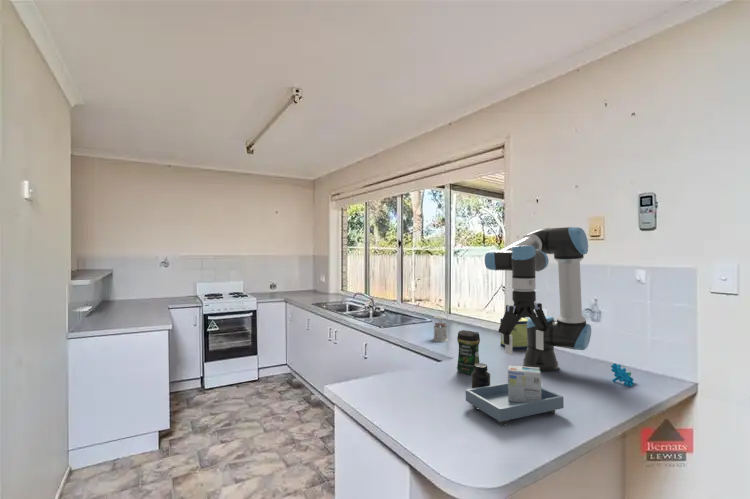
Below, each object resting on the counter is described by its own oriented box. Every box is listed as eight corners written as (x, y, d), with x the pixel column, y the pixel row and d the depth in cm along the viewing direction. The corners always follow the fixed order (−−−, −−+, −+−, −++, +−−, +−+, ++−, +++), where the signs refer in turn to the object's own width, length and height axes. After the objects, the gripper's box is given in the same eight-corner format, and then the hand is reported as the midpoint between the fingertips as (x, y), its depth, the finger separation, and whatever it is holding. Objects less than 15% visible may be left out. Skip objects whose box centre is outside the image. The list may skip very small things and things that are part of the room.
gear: (625, 385, 151) (609, 362, 158) (614, 392, 155) (598, 370, 162) (641, 384, 156) (624, 362, 163) (630, 391, 160) (613, 369, 167)
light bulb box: (540, 397, 135) (540, 367, 135) (541, 405, 129) (541, 372, 129) (508, 394, 139) (507, 364, 139) (507, 401, 132) (507, 369, 132)
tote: (465, 407, 135) (465, 389, 135) (524, 396, 145) (523, 379, 145) (500, 429, 119) (500, 409, 119) (563, 415, 128) (563, 396, 128)
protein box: (535, 348, 215) (535, 320, 215) (510, 350, 212) (509, 321, 212) (524, 343, 225) (524, 317, 225) (499, 345, 222) (499, 318, 222)
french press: (432, 341, 233) (431, 299, 233) (432, 336, 244) (432, 297, 244) (448, 341, 231) (448, 300, 231) (448, 337, 243) (448, 297, 243)
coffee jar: (454, 372, 174) (454, 331, 174) (462, 368, 180) (462, 328, 180) (474, 376, 168) (474, 333, 168) (482, 372, 174) (482, 330, 174)
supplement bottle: (469, 393, 148) (468, 362, 148) (486, 393, 149) (486, 361, 149) (475, 400, 141) (474, 367, 141) (493, 399, 142) (493, 367, 142)
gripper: (502, 293, 126) (502, 358, 126) (559, 289, 135) (560, 350, 135) (487, 291, 133) (488, 352, 133) (543, 287, 142) (543, 345, 142)
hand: (524, 351), depth 134 cm, fingers open, 13 cm apart
